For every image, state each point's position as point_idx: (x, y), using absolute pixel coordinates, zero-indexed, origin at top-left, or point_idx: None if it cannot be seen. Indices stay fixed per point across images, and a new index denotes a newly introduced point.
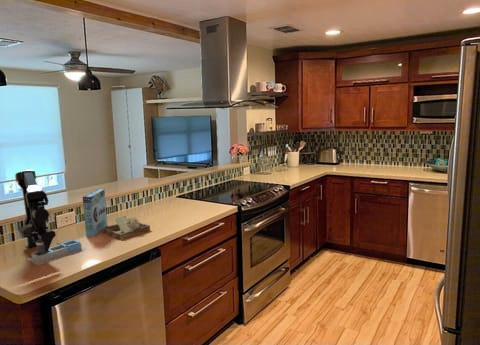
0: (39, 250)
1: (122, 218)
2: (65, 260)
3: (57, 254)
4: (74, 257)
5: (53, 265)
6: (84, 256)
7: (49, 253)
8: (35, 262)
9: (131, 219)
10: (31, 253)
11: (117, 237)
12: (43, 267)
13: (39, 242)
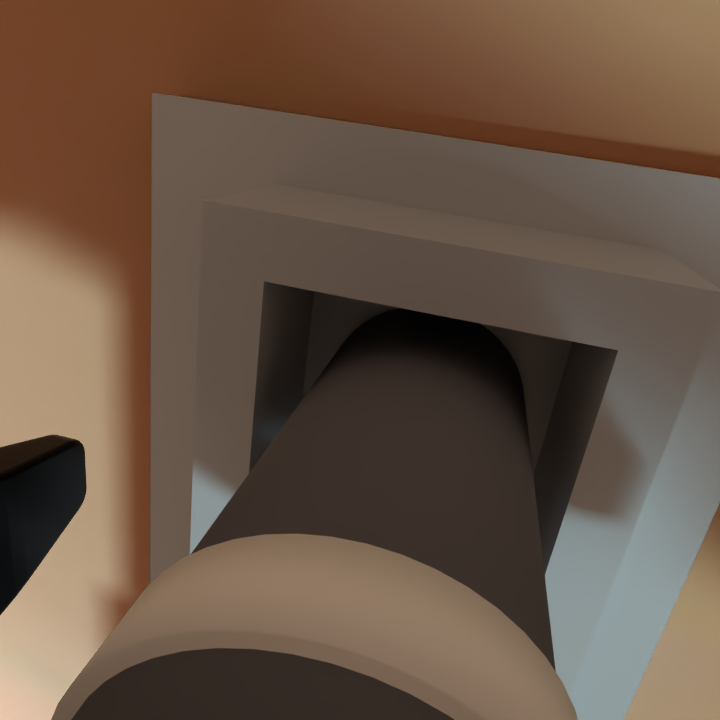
0: (320, 416)
1: None
2: (81, 515)
3: None
4: (89, 630)
5: (25, 302)
6: (16, 685)
7: (198, 497)
8: (351, 160)
9: None
10: (702, 286)
11: None
12: (73, 151)
13: (110, 702)
